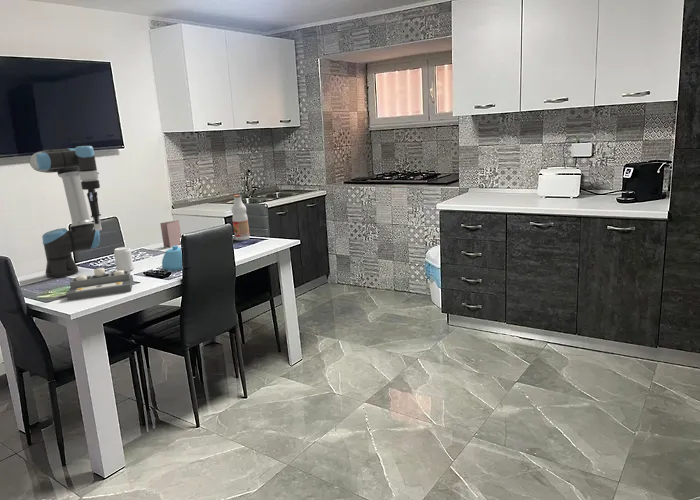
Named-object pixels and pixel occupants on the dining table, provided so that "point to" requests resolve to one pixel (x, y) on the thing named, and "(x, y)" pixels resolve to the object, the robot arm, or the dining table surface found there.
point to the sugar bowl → (172, 259)
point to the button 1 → (81, 278)
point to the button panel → (100, 285)
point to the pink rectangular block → (171, 233)
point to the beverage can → (123, 259)
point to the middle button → (99, 272)
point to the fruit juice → (240, 219)
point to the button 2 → (119, 272)
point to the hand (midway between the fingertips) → (98, 230)
